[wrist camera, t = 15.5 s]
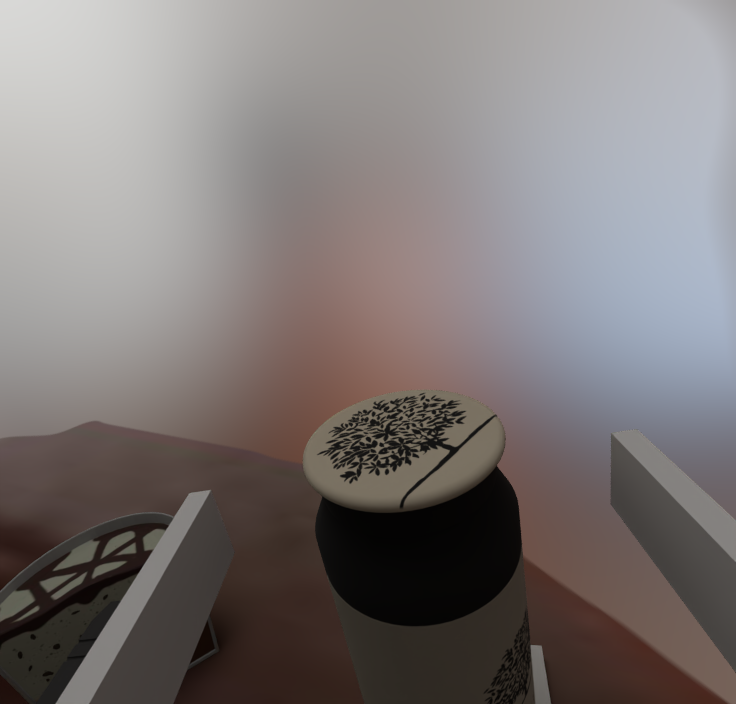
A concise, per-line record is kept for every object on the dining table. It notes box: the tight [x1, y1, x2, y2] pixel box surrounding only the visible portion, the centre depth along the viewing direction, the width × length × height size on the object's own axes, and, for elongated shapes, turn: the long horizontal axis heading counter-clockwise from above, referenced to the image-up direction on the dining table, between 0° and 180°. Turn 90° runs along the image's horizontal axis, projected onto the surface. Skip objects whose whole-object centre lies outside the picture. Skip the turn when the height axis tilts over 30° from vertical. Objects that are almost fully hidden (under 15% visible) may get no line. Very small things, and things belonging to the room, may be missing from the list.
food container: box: [0, 512, 219, 704], centre depth 29 cm, size 12×6×10 cm, turn 119°
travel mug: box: [303, 390, 536, 704], centre depth 19 cm, size 8×8×18 cm
